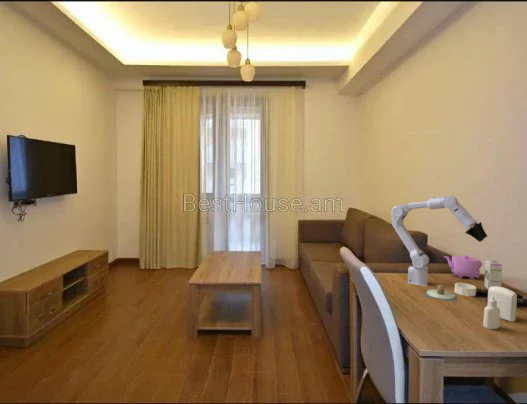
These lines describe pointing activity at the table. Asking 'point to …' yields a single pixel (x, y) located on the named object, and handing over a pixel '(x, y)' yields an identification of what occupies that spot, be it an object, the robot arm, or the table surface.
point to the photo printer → (504, 302)
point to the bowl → (465, 289)
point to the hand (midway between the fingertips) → (483, 239)
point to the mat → (440, 299)
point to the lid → (441, 293)
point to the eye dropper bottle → (491, 315)
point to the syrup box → (492, 274)
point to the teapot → (464, 266)
